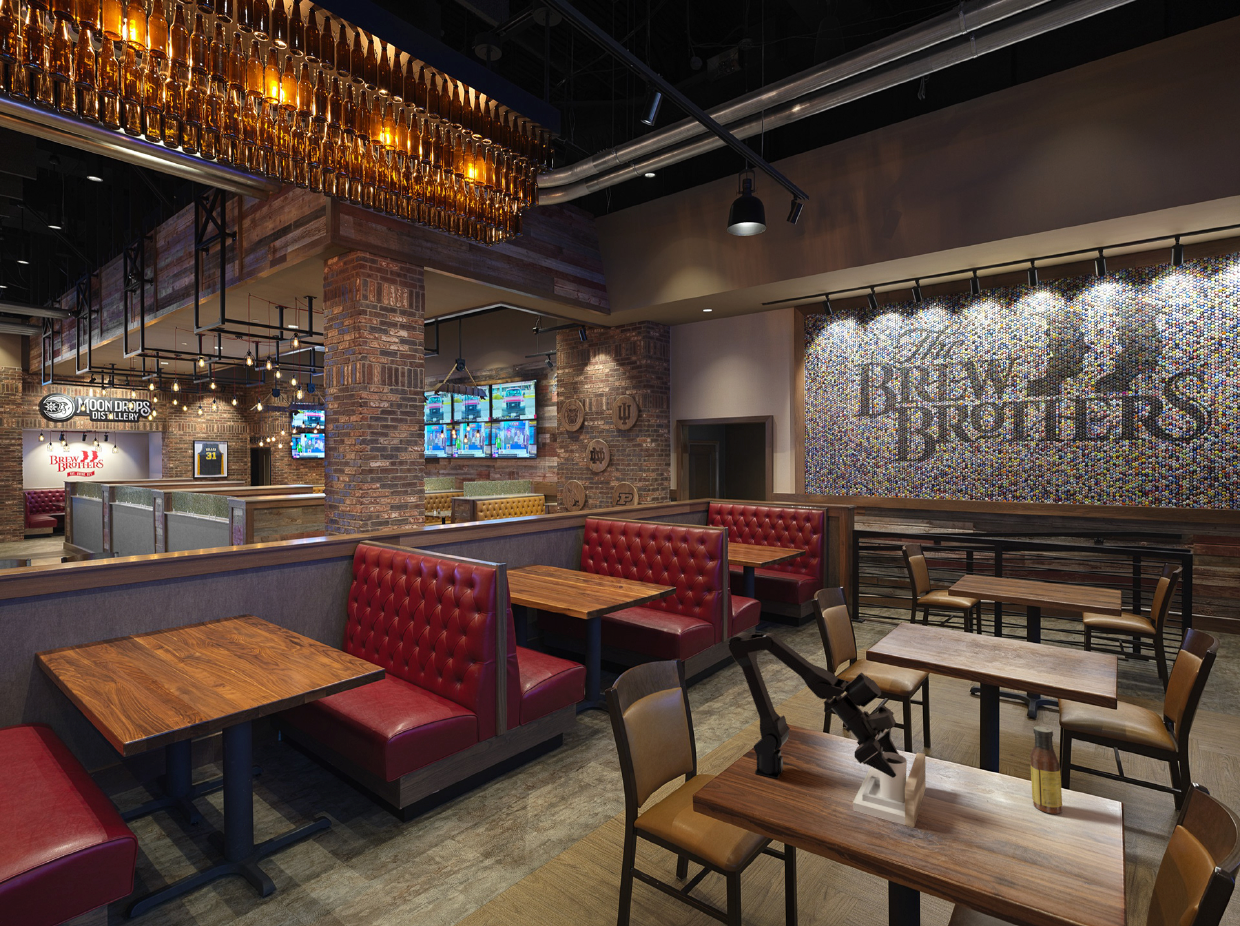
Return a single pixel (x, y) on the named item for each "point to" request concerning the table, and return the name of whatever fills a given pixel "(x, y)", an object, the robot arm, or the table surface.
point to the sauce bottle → (1045, 773)
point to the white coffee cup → (896, 785)
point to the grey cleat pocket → (877, 800)
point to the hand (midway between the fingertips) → (897, 769)
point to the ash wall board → (915, 790)
